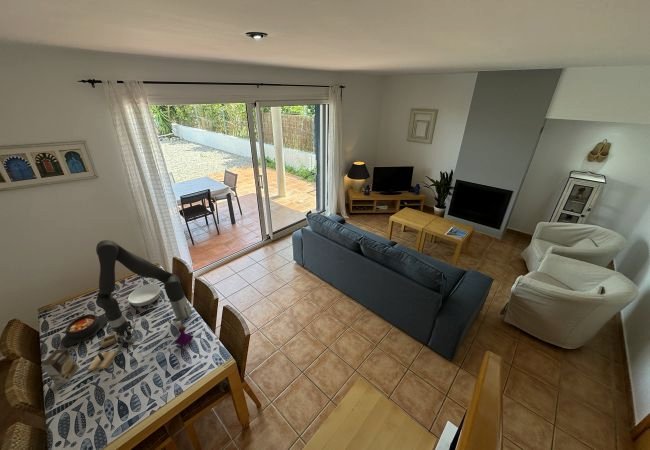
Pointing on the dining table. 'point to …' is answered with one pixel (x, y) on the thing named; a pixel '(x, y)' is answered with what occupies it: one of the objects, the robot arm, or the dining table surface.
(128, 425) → the dining table surface
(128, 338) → the link
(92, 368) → the keeper
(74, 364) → the coffee box
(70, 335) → the casserole
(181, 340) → the perfume bottle
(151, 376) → the dining table surface
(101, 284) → the robot arm
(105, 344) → the link
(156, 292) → the serving bowl
